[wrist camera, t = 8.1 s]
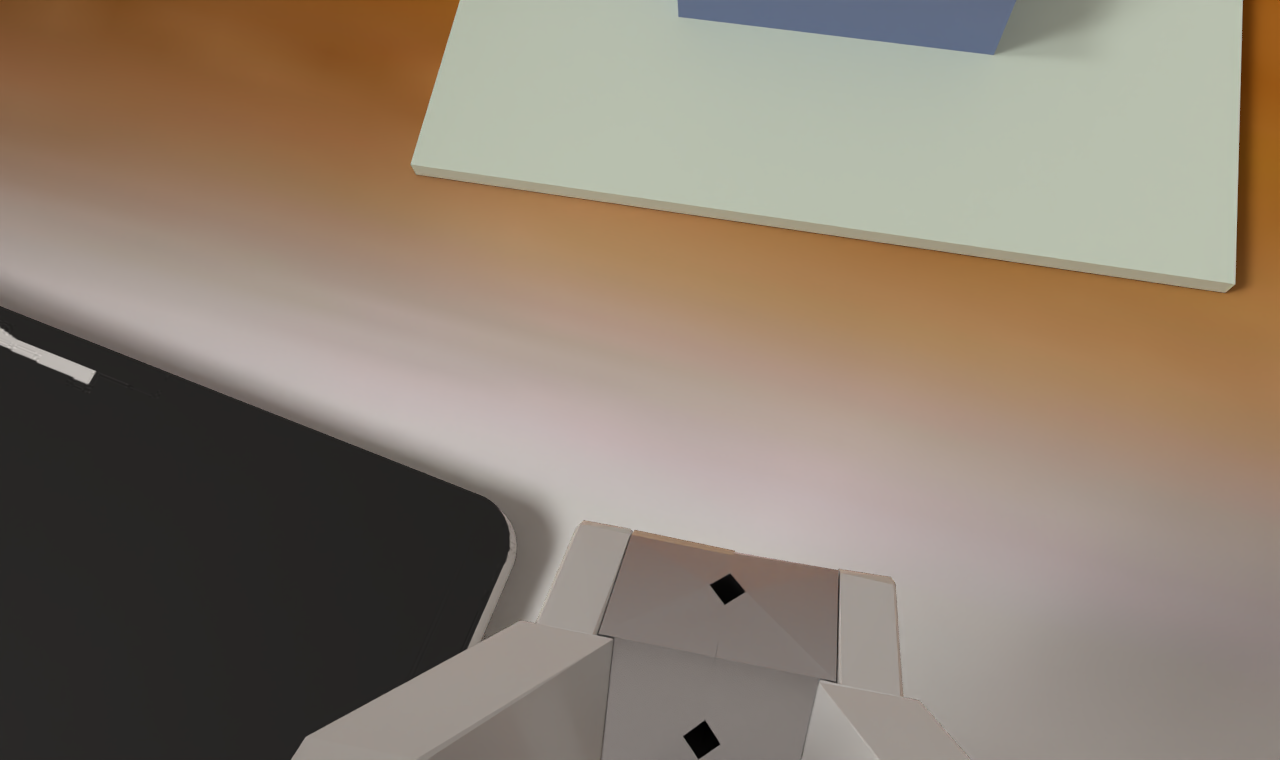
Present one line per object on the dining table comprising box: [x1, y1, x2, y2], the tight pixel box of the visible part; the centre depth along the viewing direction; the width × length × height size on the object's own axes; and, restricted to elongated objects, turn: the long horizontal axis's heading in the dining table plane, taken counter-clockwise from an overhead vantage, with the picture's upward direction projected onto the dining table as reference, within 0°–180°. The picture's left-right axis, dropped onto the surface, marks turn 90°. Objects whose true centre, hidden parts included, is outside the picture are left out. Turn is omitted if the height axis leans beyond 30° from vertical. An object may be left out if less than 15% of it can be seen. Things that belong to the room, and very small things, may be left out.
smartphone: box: [0, 306, 517, 760], centre depth 19 cm, size 8×1×15 cm
